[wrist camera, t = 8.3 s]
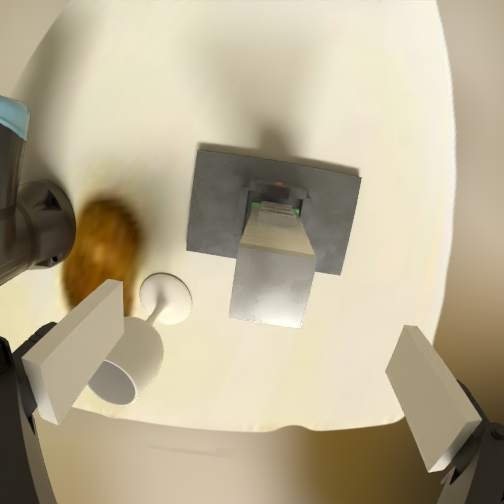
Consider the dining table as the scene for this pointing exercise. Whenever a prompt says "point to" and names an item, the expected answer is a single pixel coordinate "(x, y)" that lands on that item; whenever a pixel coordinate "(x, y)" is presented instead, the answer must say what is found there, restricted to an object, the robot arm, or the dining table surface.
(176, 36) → the dining table surface
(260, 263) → the column
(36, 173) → the dining table surface
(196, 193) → the stand base
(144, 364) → the wineglass
